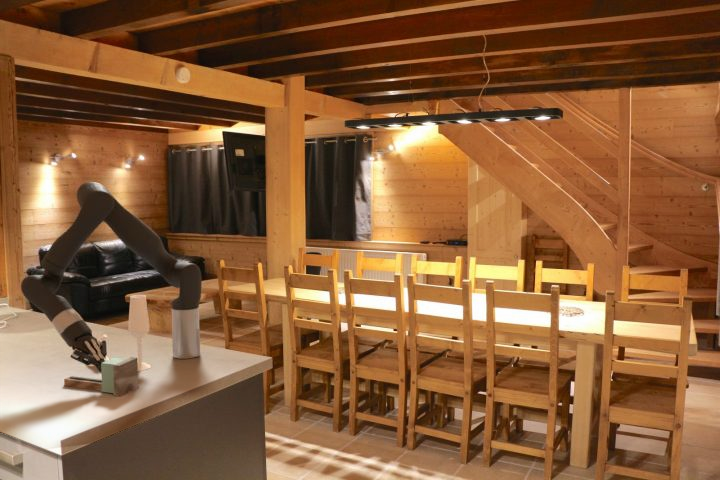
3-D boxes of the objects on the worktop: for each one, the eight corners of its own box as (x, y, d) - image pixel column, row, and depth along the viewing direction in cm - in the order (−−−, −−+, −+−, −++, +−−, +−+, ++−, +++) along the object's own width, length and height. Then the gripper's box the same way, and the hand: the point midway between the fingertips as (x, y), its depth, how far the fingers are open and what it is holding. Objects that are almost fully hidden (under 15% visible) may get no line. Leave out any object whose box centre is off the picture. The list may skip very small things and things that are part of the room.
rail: (57, 388, 173) (56, 358, 172) (78, 379, 181) (77, 351, 180) (120, 396, 167) (118, 365, 166) (138, 387, 174) (137, 357, 174)
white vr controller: (117, 351, 194) (98, 341, 192) (99, 378, 196) (79, 368, 194) (123, 341, 201) (105, 330, 199) (106, 366, 203) (87, 356, 201)
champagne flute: (128, 371, 189) (125, 298, 187) (130, 365, 196) (128, 294, 193) (150, 369, 191) (148, 297, 189) (151, 363, 197) (149, 293, 195)
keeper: (101, 391, 170) (100, 363, 169) (116, 384, 176) (115, 357, 175) (116, 393, 168) (115, 364, 167) (130, 386, 174) (129, 358, 173)
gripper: (81, 330, 182) (114, 372, 179) (47, 340, 169) (82, 386, 167) (94, 314, 180) (129, 357, 177) (61, 324, 167) (97, 370, 165)
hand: (106, 371), depth 172 cm, fingers closed
